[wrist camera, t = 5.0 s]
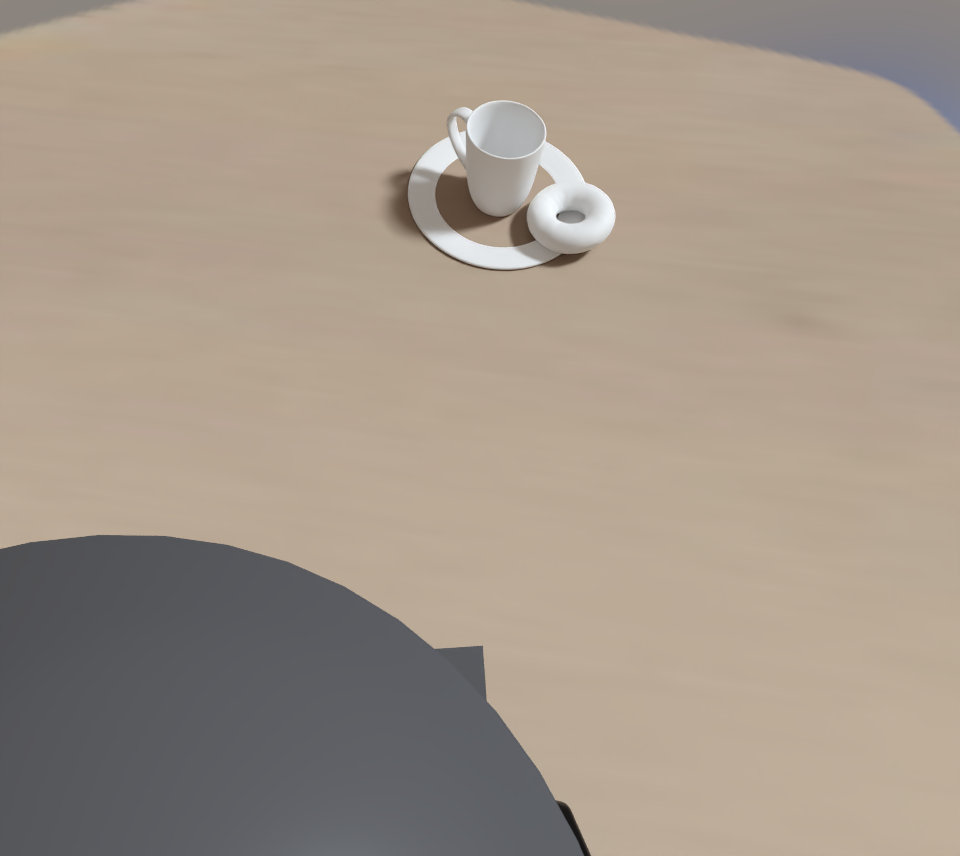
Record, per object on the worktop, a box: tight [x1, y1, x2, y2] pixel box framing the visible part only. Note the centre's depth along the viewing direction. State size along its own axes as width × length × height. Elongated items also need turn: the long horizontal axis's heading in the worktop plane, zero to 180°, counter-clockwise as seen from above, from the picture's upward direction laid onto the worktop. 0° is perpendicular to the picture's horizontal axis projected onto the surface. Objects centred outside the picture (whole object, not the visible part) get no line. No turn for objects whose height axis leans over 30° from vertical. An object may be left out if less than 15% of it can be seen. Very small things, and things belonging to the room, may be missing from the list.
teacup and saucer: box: [408, 100, 615, 270], centre depth 27 cm, size 9×8×4 cm
